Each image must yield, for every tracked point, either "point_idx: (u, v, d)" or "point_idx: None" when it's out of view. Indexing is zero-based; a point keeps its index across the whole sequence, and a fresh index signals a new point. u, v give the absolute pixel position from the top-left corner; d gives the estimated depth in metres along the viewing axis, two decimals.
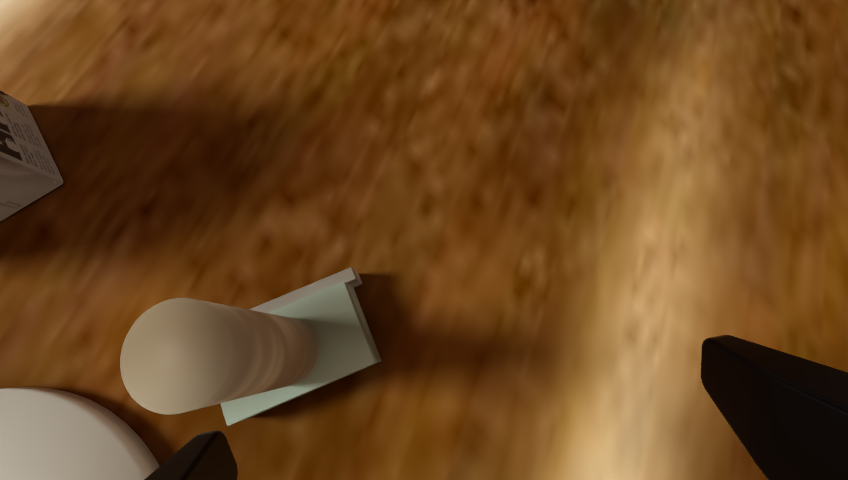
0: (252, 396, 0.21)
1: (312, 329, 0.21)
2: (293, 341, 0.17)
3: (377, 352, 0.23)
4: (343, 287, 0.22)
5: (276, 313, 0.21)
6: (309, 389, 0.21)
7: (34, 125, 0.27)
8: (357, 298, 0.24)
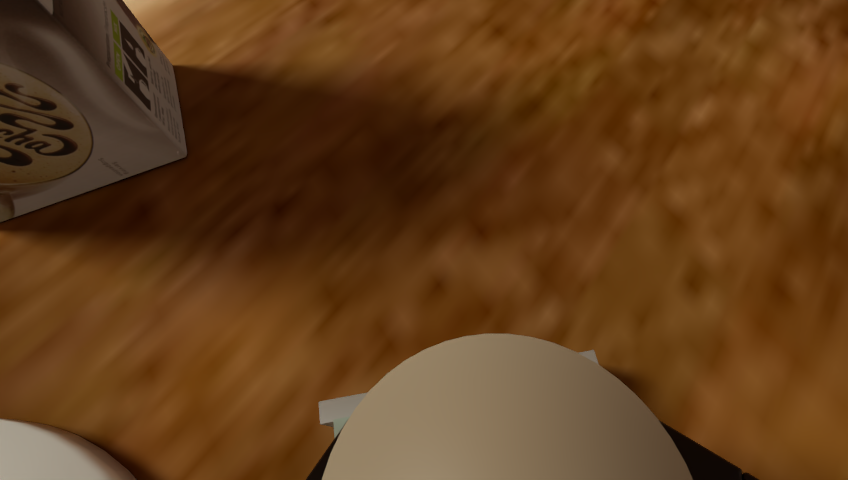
0: None
1: None
2: None
3: None
4: None
5: None
6: None
7: (174, 85, 0.21)
8: None
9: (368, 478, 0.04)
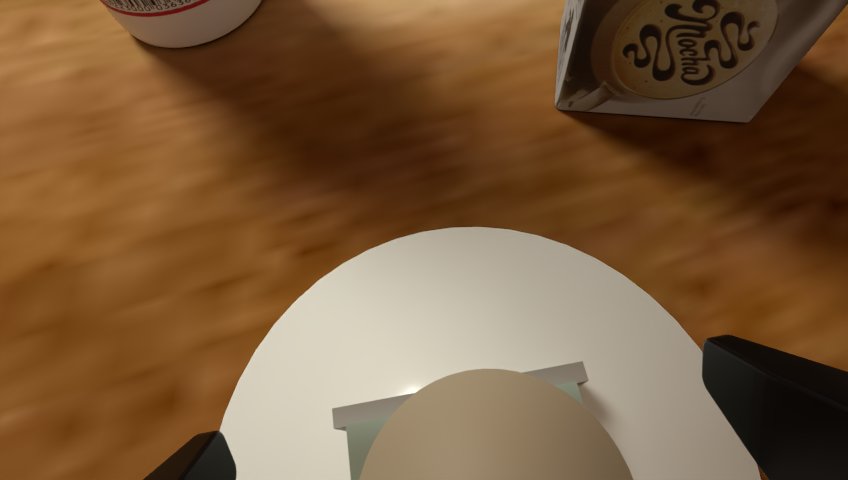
0: None
1: None
2: None
3: None
4: (575, 391, 0.14)
5: None
6: None
7: None
8: None
9: (394, 479, 0.05)
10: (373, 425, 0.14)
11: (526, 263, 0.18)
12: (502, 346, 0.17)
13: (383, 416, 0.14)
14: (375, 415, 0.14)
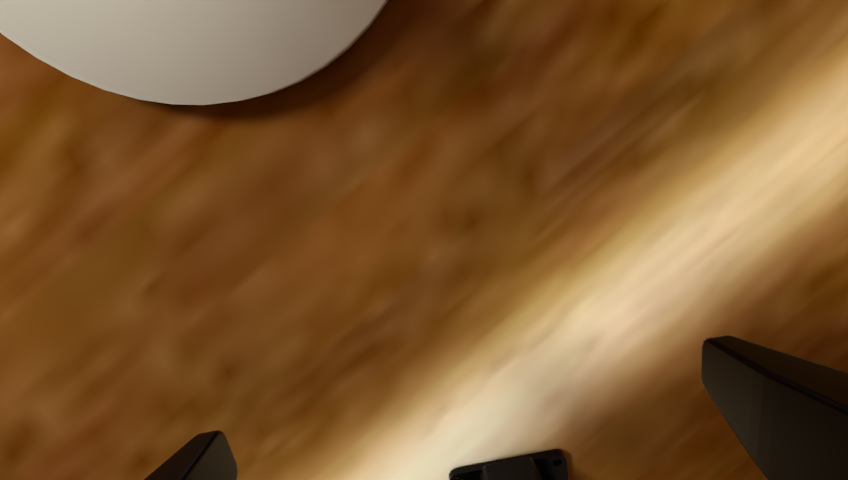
0: None
1: None
2: None
3: None
4: None
5: None
6: None
7: None
8: None
9: None
10: None
11: None
12: None
13: None
14: None
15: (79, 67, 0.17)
